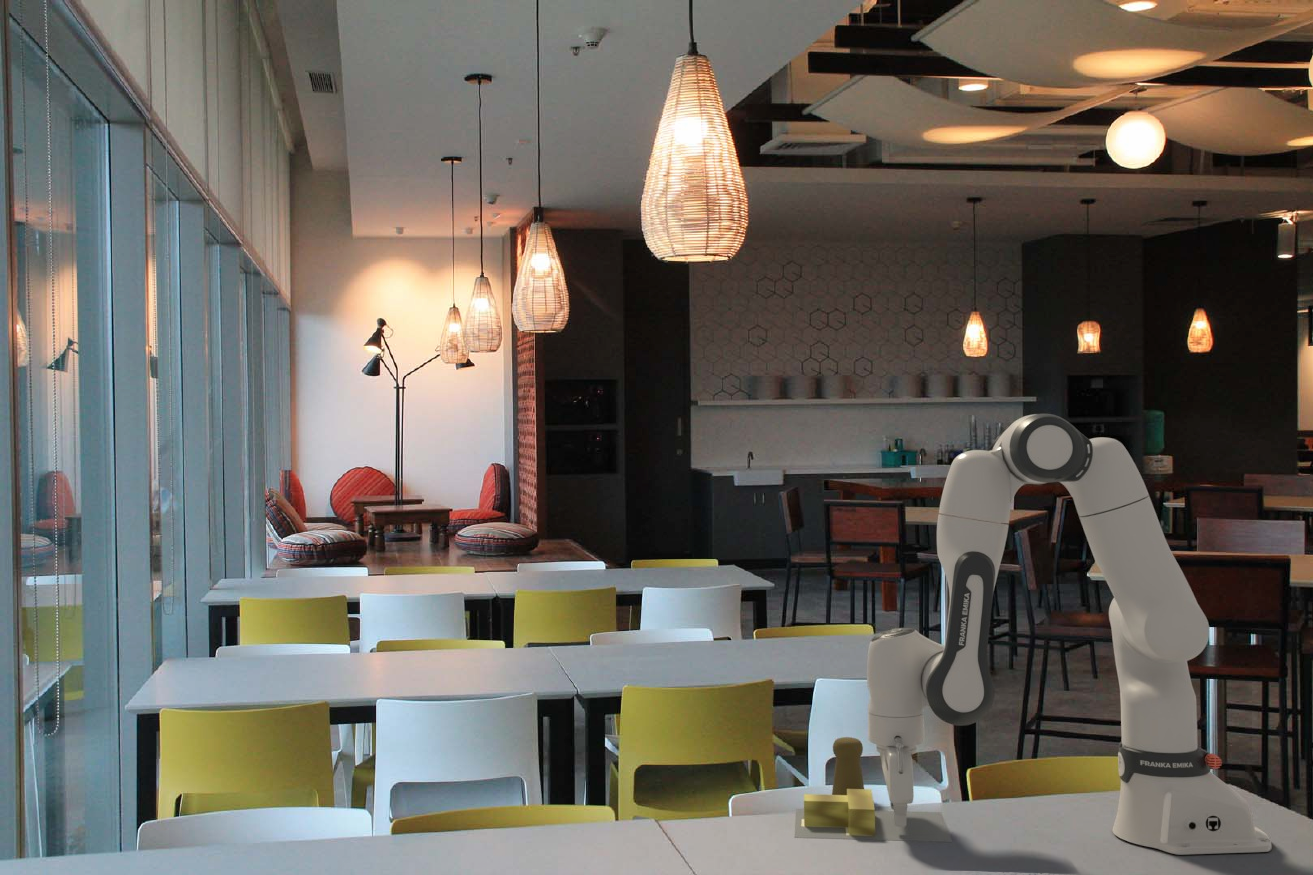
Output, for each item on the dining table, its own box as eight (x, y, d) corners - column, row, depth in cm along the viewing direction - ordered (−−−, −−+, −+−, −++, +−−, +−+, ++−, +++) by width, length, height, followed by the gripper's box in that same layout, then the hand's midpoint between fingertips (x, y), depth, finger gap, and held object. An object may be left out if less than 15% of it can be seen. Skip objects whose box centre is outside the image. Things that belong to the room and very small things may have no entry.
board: (941, 818, 199) (941, 812, 199) (952, 848, 184) (952, 841, 184) (796, 814, 203) (796, 808, 203) (794, 843, 187) (794, 837, 187)
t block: (871, 813, 199) (871, 789, 199) (875, 835, 187) (874, 809, 187) (804, 811, 201) (804, 787, 201) (804, 833, 189) (803, 807, 189)
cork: (864, 796, 213) (863, 734, 213) (867, 806, 207) (866, 742, 207) (830, 796, 214) (829, 734, 214) (831, 805, 208) (831, 741, 208)
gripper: (921, 744, 182) (924, 836, 182) (911, 717, 203) (913, 800, 202) (879, 744, 183) (881, 835, 183) (873, 717, 203) (875, 799, 203)
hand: (898, 816), depth 193 cm, fingers open, 8 cm apart
